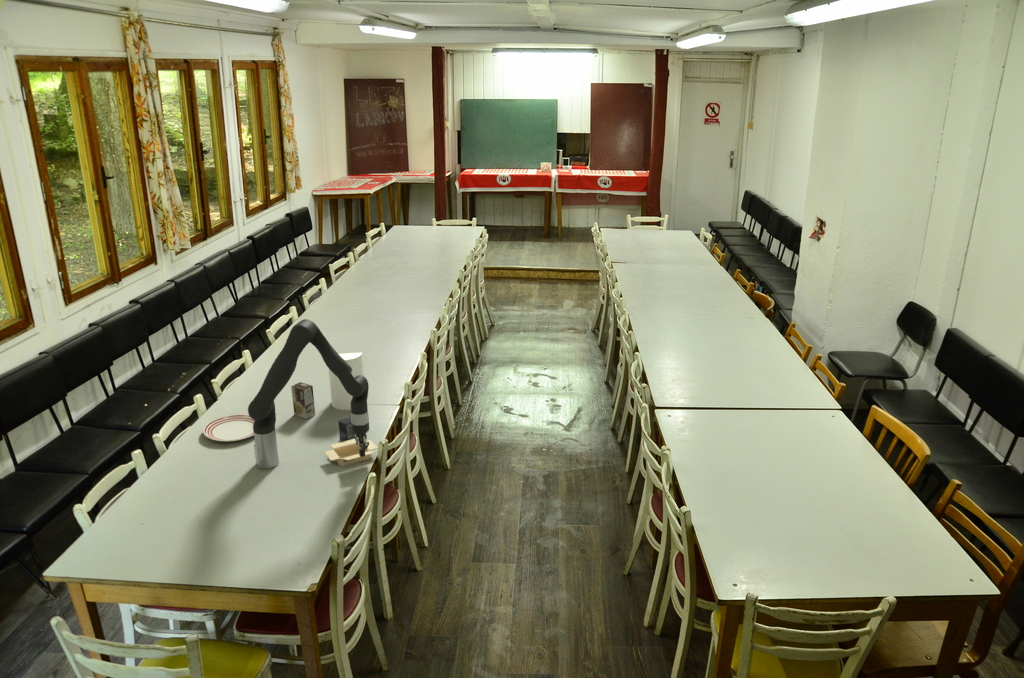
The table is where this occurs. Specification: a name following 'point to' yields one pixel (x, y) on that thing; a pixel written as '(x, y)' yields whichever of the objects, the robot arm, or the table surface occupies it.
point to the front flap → (357, 455)
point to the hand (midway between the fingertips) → (362, 455)
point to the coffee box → (303, 400)
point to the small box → (345, 429)
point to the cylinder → (338, 392)
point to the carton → (348, 452)
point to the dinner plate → (230, 428)
